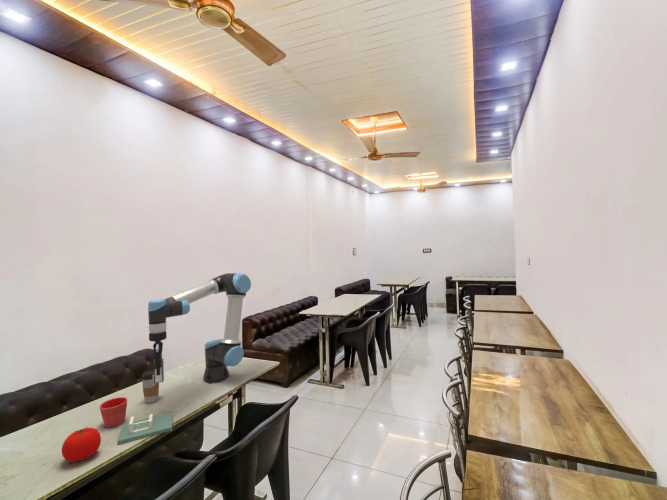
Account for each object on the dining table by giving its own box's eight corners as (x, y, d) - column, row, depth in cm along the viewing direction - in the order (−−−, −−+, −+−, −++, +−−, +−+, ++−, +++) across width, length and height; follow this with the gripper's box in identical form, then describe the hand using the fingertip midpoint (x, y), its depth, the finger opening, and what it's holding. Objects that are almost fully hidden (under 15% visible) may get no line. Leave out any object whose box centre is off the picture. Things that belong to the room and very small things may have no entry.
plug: (163, 378, 158) (163, 358, 158) (163, 381, 155) (162, 360, 155) (153, 380, 156) (152, 360, 157) (152, 383, 153) (152, 362, 153)
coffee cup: (152, 405, 165) (151, 376, 165) (138, 404, 167) (137, 375, 167) (164, 397, 173) (162, 369, 173) (150, 396, 175) (149, 369, 175)
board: (172, 415, 153) (171, 403, 153) (172, 430, 140) (171, 417, 140) (122, 427, 145) (122, 415, 144) (117, 444, 131) (116, 431, 131)
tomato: (99, 444, 132) (98, 418, 132) (103, 457, 123) (101, 430, 123) (62, 457, 124) (60, 430, 124) (62, 472, 116) (61, 443, 116)
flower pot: (98, 432, 141) (97, 410, 141) (102, 421, 151) (101, 400, 151) (126, 425, 146) (125, 404, 146) (129, 414, 156) (128, 395, 156)
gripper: (150, 329, 162) (151, 375, 162) (147, 336, 147) (148, 387, 146) (167, 327, 165) (168, 372, 165) (165, 334, 150) (166, 384, 150)
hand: (159, 379), depth 156 cm, fingers closed on plug, 4 cm apart
